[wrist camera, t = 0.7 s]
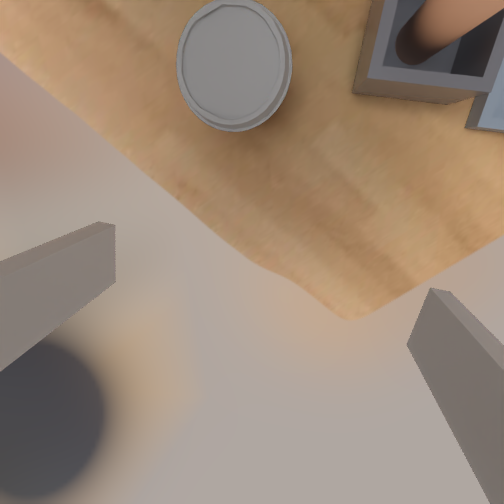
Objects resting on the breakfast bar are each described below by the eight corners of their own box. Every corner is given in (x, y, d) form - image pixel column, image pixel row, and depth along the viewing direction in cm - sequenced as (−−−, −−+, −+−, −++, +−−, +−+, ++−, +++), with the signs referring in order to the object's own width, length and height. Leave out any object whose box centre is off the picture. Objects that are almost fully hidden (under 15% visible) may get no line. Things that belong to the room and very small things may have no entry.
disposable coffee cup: (300, 45, 33) (301, -7, 22) (287, 140, 36) (282, 137, 25) (213, 38, 34) (171, -16, 22) (208, 131, 37) (169, 124, 26)
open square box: (376, -20, 30) (402, -76, 23) (483, -11, 29) (547, -65, 22) (351, 93, 34) (367, 77, 26) (446, 104, 33) (490, 92, 25)
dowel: (402, 15, 30) (493, -100, 16) (444, 19, 30) (576, -95, 16) (390, 62, 31) (464, -6, 17) (430, 67, 31) (540, 1, 17)
